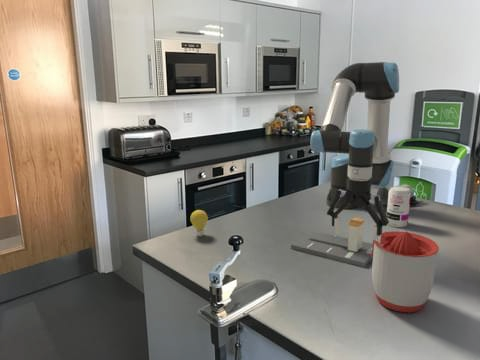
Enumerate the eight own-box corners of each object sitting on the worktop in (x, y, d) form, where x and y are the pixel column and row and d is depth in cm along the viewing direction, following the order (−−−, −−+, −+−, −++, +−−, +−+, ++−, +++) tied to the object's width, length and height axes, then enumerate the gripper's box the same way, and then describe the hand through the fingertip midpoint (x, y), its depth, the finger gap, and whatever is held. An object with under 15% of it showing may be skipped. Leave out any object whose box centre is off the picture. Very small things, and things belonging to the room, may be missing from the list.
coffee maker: (378, 180, 185) (407, 177, 192) (371, 195, 190) (399, 191, 197) (399, 200, 174) (429, 196, 181) (391, 215, 179) (421, 210, 186)
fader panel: (310, 233, 152) (310, 229, 152) (379, 249, 138) (379, 245, 137) (290, 248, 139) (290, 244, 139) (364, 267, 125) (364, 262, 124)
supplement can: (404, 221, 164) (407, 186, 160) (410, 228, 156) (414, 191, 152) (383, 220, 165) (386, 185, 161) (389, 227, 157) (392, 191, 153)
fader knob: (352, 244, 137) (354, 217, 135) (362, 246, 135) (364, 219, 133) (347, 249, 133) (348, 222, 130) (356, 252, 131) (358, 224, 128)
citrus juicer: (375, 278, 118) (380, 215, 113) (438, 298, 107) (447, 229, 102) (353, 301, 106) (357, 232, 101) (421, 326, 95) (430, 249, 90)
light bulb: (187, 236, 151) (186, 211, 148) (197, 230, 157) (196, 206, 154) (202, 239, 148) (201, 214, 145) (211, 233, 154) (210, 209, 151)
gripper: (318, 175, 132) (316, 235, 137) (396, 186, 118) (390, 252, 123) (327, 171, 138) (325, 228, 143) (402, 180, 124) (396, 243, 129)
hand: (355, 239), depth 133 cm, fingers open, 13 cm apart
